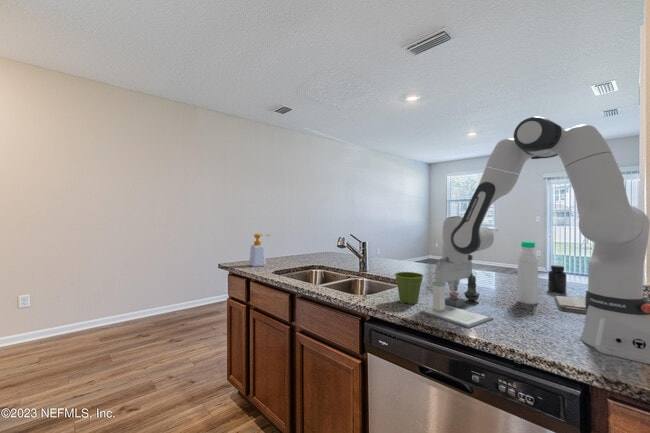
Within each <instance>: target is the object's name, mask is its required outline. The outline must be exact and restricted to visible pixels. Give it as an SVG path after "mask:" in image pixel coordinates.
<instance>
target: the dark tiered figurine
mask: <svg viewBox="0 0 650 433" xmlns="http://www.w3.org/2000/svg"><path fill="white" fill-rule="evenodd" d="M476 282H477V280H476V276H475V275H473V273H472V274H471V276H470V277H469V278H467V283H466V285H467V291H464V292H463V294H464V297H465V298H466V299H465V304H470V305H478V304H480V302H479V301H478V300H479V298H480V297H479V296H480V293H479V292H477V286H478V285H477V283H476Z"/></svg>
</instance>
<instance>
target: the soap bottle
mask: <svg viewBox="0 0 650 433" xmlns="http://www.w3.org/2000/svg"><path fill="white" fill-rule="evenodd" d="M261 236H262V234H260V233H255V234H253V237H254V238H255V239H256V241H255V240H254V242H253V244H252V245H250V254H249V263H248V264H249V266H251V267H254V268H257V267H264V266H265V267H266V265H267V263H266V254H265V253H266V252H265V246H264V245H262V241H261V240H259V239H261ZM266 236H267V237H270V234H266Z"/></svg>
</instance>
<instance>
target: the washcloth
mask: <svg viewBox="0 0 650 433" xmlns="http://www.w3.org/2000/svg"><path fill="white" fill-rule="evenodd" d="M554 301H555V302H556V305H557V306H558V309H559V310H560V311H564V312H568V311H569V312H570V313H575V312H577V314H583V313H585V315H586V314H587V310H586V306H585V298H584V297H570V296H561V295H555V296H554ZM569 312H568V313H569Z"/></svg>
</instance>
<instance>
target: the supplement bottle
mask: <svg viewBox="0 0 650 433" xmlns="http://www.w3.org/2000/svg"><path fill="white" fill-rule="evenodd" d="M564 271H565V267H564V266H563V265H550V271H549V272H548V277H547V279H548V280H547V289H548V291H549V292H550V291H551V292H550V293H554V292H555V294H566V293H567V274H566V272H564Z"/></svg>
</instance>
